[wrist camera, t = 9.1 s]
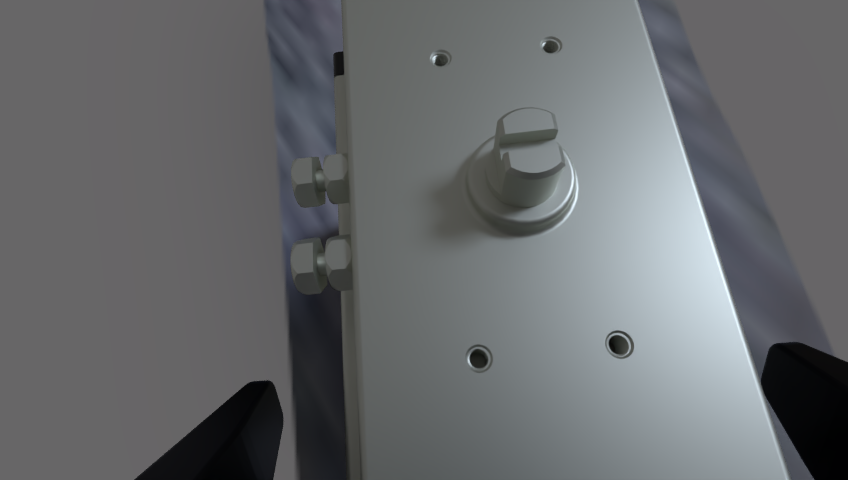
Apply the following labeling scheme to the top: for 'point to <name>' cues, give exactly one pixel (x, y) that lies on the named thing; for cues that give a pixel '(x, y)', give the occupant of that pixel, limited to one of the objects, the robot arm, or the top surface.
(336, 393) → the top surface
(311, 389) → the top surface
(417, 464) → the pneumatic valve
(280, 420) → the robot arm
